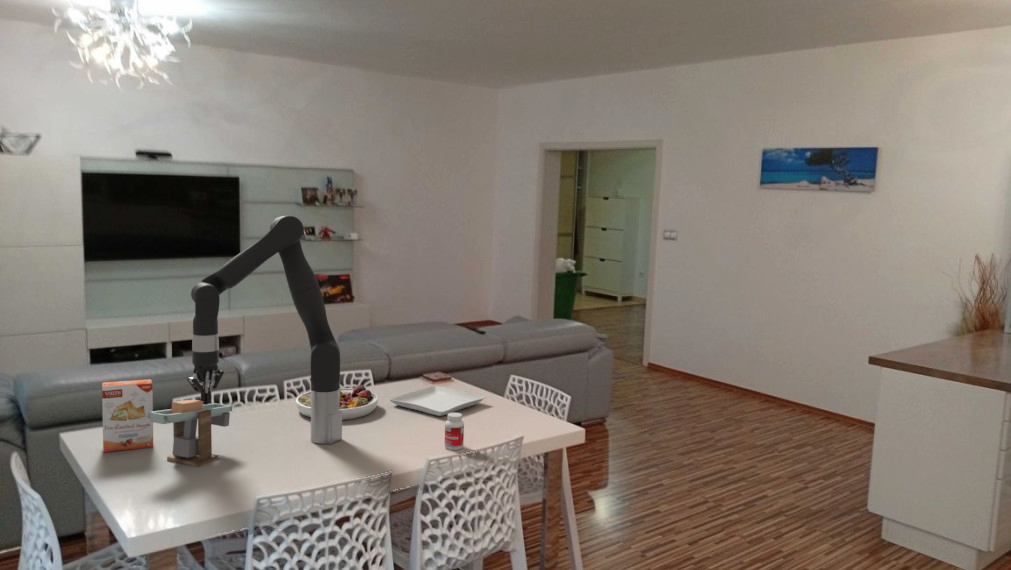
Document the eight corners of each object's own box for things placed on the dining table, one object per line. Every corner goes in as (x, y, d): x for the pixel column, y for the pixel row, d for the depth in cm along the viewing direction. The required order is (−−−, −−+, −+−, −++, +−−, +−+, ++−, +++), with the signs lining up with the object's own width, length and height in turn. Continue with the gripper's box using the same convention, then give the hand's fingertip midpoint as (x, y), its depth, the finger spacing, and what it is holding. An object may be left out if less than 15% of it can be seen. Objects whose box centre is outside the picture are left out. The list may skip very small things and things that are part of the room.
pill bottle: (441, 448, 239) (441, 415, 237) (449, 443, 244) (450, 410, 243) (458, 451, 236) (459, 418, 235) (466, 446, 242) (467, 413, 241)
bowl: (337, 428, 257) (337, 406, 256) (278, 413, 272) (278, 392, 271) (394, 409, 282) (394, 389, 281) (337, 396, 298) (337, 377, 297)
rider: (201, 414, 221) (203, 401, 221) (181, 417, 214) (182, 403, 214) (191, 412, 223) (193, 399, 223) (170, 415, 215) (172, 401, 215)
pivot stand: (218, 458, 223) (217, 408, 222) (198, 466, 216) (197, 415, 214) (187, 452, 228) (187, 403, 226) (167, 460, 220) (166, 409, 219)
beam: (228, 449, 231) (232, 406, 231) (161, 463, 207) (166, 415, 207) (210, 445, 233) (214, 403, 234) (143, 459, 209) (148, 412, 209)
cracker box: (103, 453, 224) (101, 386, 222) (103, 447, 230) (101, 381, 227) (154, 447, 231) (152, 382, 228) (153, 441, 236) (151, 378, 234)
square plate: (434, 393, 307) (434, 384, 307) (486, 405, 291) (486, 396, 291) (387, 406, 285) (388, 397, 285) (441, 421, 269) (441, 410, 269)
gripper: (198, 353, 216) (199, 411, 218) (231, 346, 228) (231, 400, 230) (179, 350, 219) (179, 407, 221) (212, 343, 231) (212, 397, 233)
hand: (206, 403), depth 226 cm, fingers closed
